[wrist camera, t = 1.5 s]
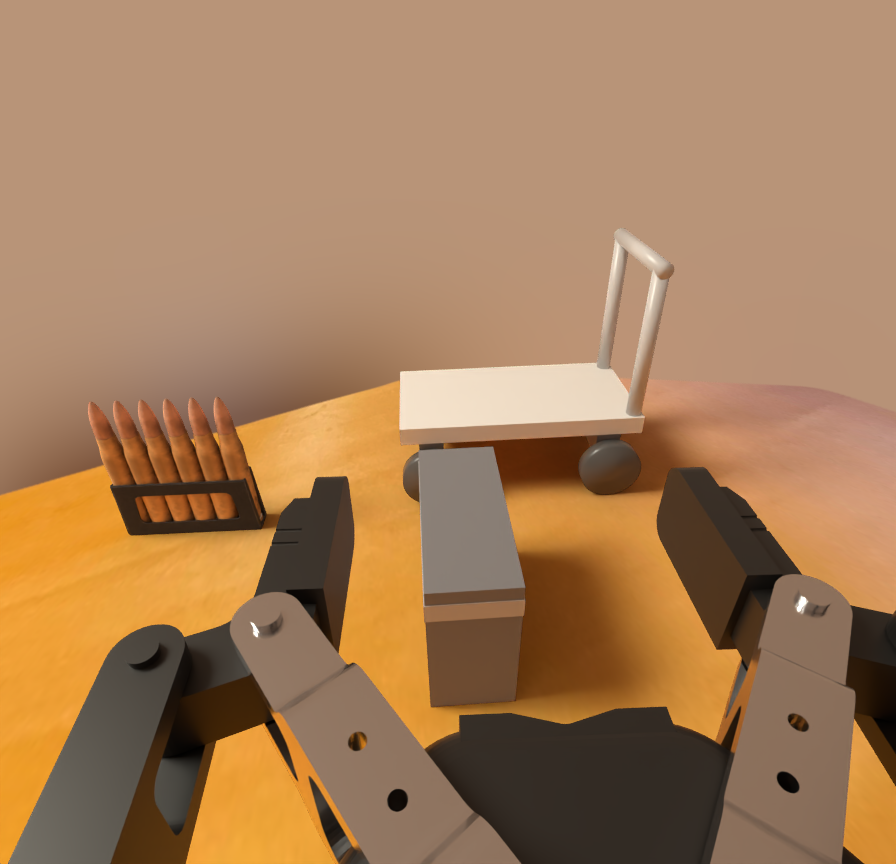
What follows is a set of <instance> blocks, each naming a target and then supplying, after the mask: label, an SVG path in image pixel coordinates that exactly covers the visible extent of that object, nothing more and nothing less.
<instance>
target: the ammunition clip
mask: <svg viewBox="0 0 896 864" xmlns="http://www.w3.org/2000/svg"><path fill="white" fill-rule="evenodd" d="M188 407H189V419H190V424H191V427H192V431H193V436H194V439H195V446H196V449H195V446H194V444H193V443H192V441H191V440H190V438H189V436H188V433H187V431H186V429H185V426H184V424H183V421H182V419H181V417H180V415H179V413H178V411H177V410H176V408H175V407H174V405H173V404H172V403H171V402H170V401H169V400H168V399H165V400H164V403H163V415H164V420H165V425H166V428H167V431H168V436H169V439H170V442H171V446H170V445H169V443H168V441H167V440H166V438H165V436H164V434H163V431H162V430H161V428H160V425H159V422H158V420H157V418H156V417H155V415H154V413H153V411H152V410H151V408H150V407H149V406H148V405H147V403H146V402H144V401H143V400H139V404H138V413H139V420H140V424H141V427H142V430H143V433H144V437H145V440H146V443H147V446H146V444H145V443H144V442H143V440H142V438H141V436H140V434H139V432H138V431H137V428H136V426H135V424H134V422H133V420H132V418H131V416H130V415H129V413H128V412H127V410H126V409H125V408H124V407H123V405H122V404H120V403H119V402H118V401H115V402H114V404H113V412H114V419H115V423H116V427H117V430H118V432H119V435H120V438H121V442H122V444H123V446H122V445H121V443H120V442H119V441H118V439H117V437H116V435H115V433H114V432H113V430H112V427H111V425H110V423H109V421H108V420H107V418H106V416H105V415H104V413H103V412H102V411H101V410H100V409H99V407H98V406H97V405H96V404H94V403H93V402H89V405H88V414H89V419H90V423H91V427H92V430H93V432H94V435H95V437H96V441H97V443H98V446H99V450H100V455H101V458H102V461H103V463H104V465H105V468H106V470H107V472H108V474H109V476H110V479H111V481H112V483H113V484H112V485H111V486H110V488H111V491H112V493H113V495H114V498H115V500H116V503H117V505H118V508H119V510H120V513H121V515H122V518H123V521H124V523H125V526H126V528H127V531H128V533H129V534H130V535H150V534H171V533H193V532H214V531H235V530H257V529H261V528H262V526H263V523H264V520H265V517H266V511H265V508H264V505H263V502H262V499H261V496H260V493H259V490H258V487H257V484H256V481H255V478H254V475H253V472H252V469H251V467H250V466H248V463H247V459H246V455H245V452H244V448H243V445H242V443H241V441H240V439H239V438H238V435H237V432H236V429H235V427H234V424H233V421H232V418H231V416H230V413H229V411H228V409H227V408H226V406H225V405H224V403H223V401H222V400H221V399H220V398H219V397H216V398H215V401H214V418H215V423H216V427H217V431H218V437H219V441H220V448H219V446H218V444H217V442H216V440H215V439H214V437H213V434H212V431H211V429H210V427H209V424H208V421H207V418H206V416H205V414H204V412H203V410H202V408H201V407H200V406H199V404H198V403H197V401H196V400H195V399H194V398H190V400H189V406H188ZM220 451H221V452H220ZM113 485H114V486H113Z"/></svg>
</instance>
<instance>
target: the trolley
mask: <svg viewBox="0 0 896 864" xmlns="http://www.w3.org/2000/svg"><path fill="white" fill-rule="evenodd" d="M614 240H615V245H614V252H613V259H612V266H611V272H610V279H609V286H608V292H607V299H606V306H605V313H604V319H603V327H602V333H601V339H600V347H599V354H598V360H597V363H581V364H559V365H538V366H516V367H493V368H471V369H450V370H427V371H405V372H400V441H401V445H414V444H419V447H420V450H437V449H444V448H443V443H453V442H472V441H492V440H511V439H530V438H550V437H569V436H585V437H586V439H587V441H588V443H589V445H590V447H589V448H588V449H587V450H586V451H585V452H584V453H583V455H582V456H581V458H580V460H579V464H578V471H579V474H580V476H581V479H582V481H583V483H584V485H585V487H586V488H587V489H588V490H590V491H592V492H594V493H597V494H603V495H608V494H614V493H617V492H620V491H622V490H624V489H626V488H628V487H629V486H630V485H631V484H632V483H634V481H635V480H636V479H637V477H638V476H639V473H640V470H641V462H640V459H639V457H638V456H637V454H636V452H635V451H634V449H633V447H632V446H631V445H630V444H628V443H627V442H625V441H622V440H620V436H621V434H628V433H642V429H643V425H644V420H645V417H644V415H643V414H642V412H641V411H642V406H643V401H644V396H645V392H646V387H647V382H648V377H649V372H650V368H651V363H652V358H653V353H654V349H655V344H656V339H657V334H658V329H659V324H660V320H661V315H662V310H663V305H664V301H665V296H666V291H667V286H668V282H669V278H670V277H671V275H672V274H673V272H674V266H673V265H672V264H671V263H670V262H668V261H667V260H666V259H664V258H663V257H661V255H659V254H658V253H656V252H655V251H654V250H652V249H651V248H650V247H649V246H647V245H646V244H645V243H643V242H642V241H641V240H639V239H638V238H637V237H635V236H634V235H632V234H631V233H630V232H629V231H628V230H626V229H625V228H619V229H618V230H616V232H615V233H614ZM628 252H629V253H630V254H631V255H632V256H634V257H635V258H636V259H637V260H638V261H639V262H641V263H642V264H643V265H644V266H646V268H648V269H649V270H650V271H651V272H652V277H651V282H650V288H649V293H648V298H647V303H646V308H645V314H644V319H643V324H642V329H641V335H640V340H639V345H638V350H637V356H636V361H635V366H634V371H633V377H632V382H631V387H630V392H629V393H628V392H627V390H626V389H625V387H624V386H623V384H622V383H621V381H620V380H619V378H618V377H617V375H616V374H615V372H614V371H613V369H612V368H611V366H610V360H611V355H612V349H613V343H614V337H615V331H616V324H617V318H618V312H619V306H620V300H621V294H622V288H623V282H624V275H625V269H626V263H627V257H628ZM418 461H419V452H417V453H415V454H414V455H412V456H411V457H410V458H409V459H408V460H407V462H406V463H405V466H404V469H403V486H404V489H405V491H406V492H407V494H408V495H409V496H410V497H411V498H413V499H414V500H416V501H418V502H420V492H419V463H418Z"/></svg>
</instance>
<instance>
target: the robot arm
mask: <svg viewBox="0 0 896 864" xmlns="http://www.w3.org/2000/svg"><path fill="white" fill-rule="evenodd" d="M657 530H658V535H659V538H660V540H661V542H662V544H663V546H664V548H665V550H666V552H667V554H668V556H669V558H670V560H671V562H672V564H673V566H674V568H675V569H676V571H677V573H678V575H679V577H680V579H681V581H682V583H683V585H684V587H685V589H686V591H687V593H688V595H689V597H690V599H691V601H692V603H693V604H694V606H695V608H696V610H697V612H698V614H699V616H700V618H701V620H702V622H703V624H704V626H705V628H706V630H707V632H708V634H709V636H710V638H711V639H712V641H713V643H714V645H715V647H716V649H717V650H721V649H737V650H738V652H739V653H740V655H741V657H742V658H741V660H740V662H739V664H738V667H737V670H736V674H735V677H734V680H733V684H732V687H731V691H730V694H729V698H728V701H727V705H726V708H725V712H724V715H723V718H722V722H721V725H720V729H719V732H718V735H717V738H716V740H715V741H714V740H712V739H710V738H708V737H706V736H705V735H702V734H700V733H698V732H696V731H693V730H691V729H688V728H685V727H682V726H679V725H675V724H673V722H672V720H671V717H670V715H669V712H668V709H667V707H647V708H623V709H614V710H611V711H608V712H605V713H602V714H599V715H595V716H592V717H589V718H586V719H583V720H580V721H577V722H574V723H571V724H560V723H555V722H550V721H545V720H541V719H536V718H531V717H527V716H522V715H517V714H512V713H502V714H478V715H459V732H457V733H454V734H451V735H448V736H446V737H444V738H442V739H440V740H438V741H436V742H434V743H433V744H431V745H430V746H428V747H427V748H425V749H423V747H422V746H421V745H420V744H419V742H418V741H417V740H416V738H415V737H414V736H413V734H412V733H411V732H410V731H409V729H408V728H407V727H406V725H405V724H404V723H403V721H402V720H401V719H400V718H399V716H398V715H397V714H396V712H395V711H394V710H393V709H392V707H391V706H390V705H389V703H388V702H387V701H386V699H385V698H384V697H383V696H382V694H381V693H380V692H379V690H378V689H377V688H376V686H375V685H374V684H373V683H372V681H371V680H370V679H369V677H368V676H367V675H366V673H365V672H364V671H363V670H362V669H361V668H360V667H359V666H358V665H357V664H355V663H351V664H349V665H348V664H346V663H345V662H344V661H343V659H342V658H341V657H340V655H339V654H338V653H339V646H340V639H341V632H342V625H343V618H344V612H345V605H346V598H347V591H348V584H349V577H350V570H351V564H352V557H353V550H354V521H353V513H352V505H351V498H350V490H349V483H348V478H347V477H346V476H343V477H317V478H316V479H315V482H314V486H313V489H312V493H311V497H310V498H295V499H294V500H293V501H292V502H291V503H290V504H289V505H288V506H287V507H286V508H285V510H284V511H283V512H282V513H281V516H280V519H279V522H278V525H277V528H276V532H275V534H274V537H273V540H272V546H270V549H269V553H268V556H267V559H266V562H265V565H264V568H263V571H262V574H261V577H260V580H259V583H258V587H257V590H256V593H255V595H254V598H252V599H250V600H249V601H247V602H246V603H245V604H243V605H242V606H241V607H240V608H239V609H238V610H237V612H236V613H235V614H234V616H233V618H232V620H231V621H230V622H228V623H226V624H224V625H222V626H219V627H216V628H213V629H210V630H207V631H203V632H200V633H197V634H194V635H190V636H187V637H184V636H183V635H182V633H181V632H180V631H179V630H178V629H177V628H175V627H173V626H170V625H151V626H147V627H144V628H141V629H139V630H136V631H134V632H132V633H131V634H129V635H127V636H126V637H124V638H123V639H122V640H121V641H119V642H118V643H117V644H116V645H115V646H114V647H113V648H112V650H111V651H110V652H109V653H108V655H107V657H106V659H105V661H104V663H103V665H102V667H101V669H100V671H99V673H98V675H97V677H96V680H95V682H94V684H93V686H92V688H91V690H90V692H89V694H88V696H87V698H86V701H85V703H84V705H83V707H82V709H81V711H80V713H79V715H78V717H77V719H76V722H75V724H74V726H73V728H72V730H71V732H70V734H69V736H68V738H67V740H66V743H65V745H64V747H63V749H62V751H61V753H60V755H59V757H58V759H57V762H56V764H55V766H54V768H53V770H52V772H51V774H50V776H49V778H48V780H47V783H46V785H45V787H44V789H43V791H42V793H41V795H40V797H39V799H38V801H37V804H36V806H35V808H34V810H33V812H32V814H31V816H30V818H29V820H28V822H27V825H26V827H25V829H24V831H23V833H22V835H21V837H20V839H19V841H18V843H17V846H16V848H15V850H14V852H13V854H12V856H11V858H10V860H9V862H8V864H186V860H187V856H188V852H189V848H190V844H191V840H192V836H193V832H194V828H195V824H196V820H197V816H198V812H199V808H200V804H201V800H202V796H203V792H204V788H205V784H206V780H207V776H208V772H209V768H210V764H211V760H212V756H213V752H214V748H215V744H216V741H217V740H220V739H222V738H225V737H228V736H231V735H233V734H236V733H239V732H242V731H244V730H247V729H250V728H252V727H255V726H258V725H261V724H262V725H263V727H264V729H265V731H266V732H267V734H268V736H269V738H270V740H271V742H272V743H273V745H274V747H275V749H276V751H277V752H278V754H279V756H280V758H281V760H282V762H283V763H284V765H285V767H286V769H287V771H288V773H289V774H290V776H291V778H292V780H293V782H294V783H295V785H296V787H297V789H298V791H299V793H300V795H301V797H302V799H303V801H304V803H305V806H306V808H307V810H308V813H309V815H310V817H311V819H312V821H313V823H314V825H315V827H316V829H317V831H318V833H319V835H320V837H321V839H322V841H323V843H324V845H325V846H326V848H327V850H328V852H329V854H330V856H331V857H332V859H333V861H334V863H335V864H864V863H863V862H861V861H860V860H859V859H858V858H857V857H855V856H854V855H853V854H852V853H851V852H849V851H848V850H847V849H846V848H845V847H844V846H843V838H844V827H845V815H846V804H847V792H848V780H849V769H850V757H851V746H852V734H853V722H854V719H855V720H856V722H857V724H858V725H859V727H860V729H861V730H862V732H863V733H864V735H865V737H866V738H867V740H868V742H869V743H870V745H871V747H872V748H873V750H874V751H875V753H876V755H877V756H878V758H879V760H880V761H881V763H882V765H883V766H884V768H885V769H886V771H887V773H888V774H889V776H890V778H891V779H892V781H893V783H894V784H895V786H896V611H895V612H894V614H888V613H884V612H879V611H874V610H869V609H865V608H860V607H855V606H851V605H849V603H848V601H847V600H846V599H845V597H844V596H843V595H842V594H841V593H840V592H838V591H837V590H836V589H835V588H833V587H832V586H830V585H828V584H827V583H825V582H823V581H821V580H818V579H816V578H813V577H810V576H805V575H802V574H801V572H800V571H799V570H798V568H797V567H796V566H795V564H794V563H793V562H792V561H791V559H790V558H789V557H788V555H787V554H786V553H785V551H784V550H783V549H782V547H781V546H780V545H779V544H778V542H777V541H776V540H775V538H774V537H773V536H772V534H771V533H770V532H769V531H767V530H766V527H765V525H764V524H763V523H762V521H761V520H760V519H759V518H757V515H756V513H755V512H754V511H753V509H752V508H751V507H750V506H749V504H748V503H747V502H746V500H745V499H743V498H742V497H740V496H739V495H738V494H736V493H735V492H733V491H732V490H731V489H729V488H728V487H719V485H718V484H717V483H716V481H715V480H714V478H713V477H712V476H711V474H710V473H709V472H708V470H707V469H705V468H704V467H691V468H672V469H671V470H670V471H669V473H668V476H667V480H666V483H665V487H664V491H663V495H662V499H661V503H660V506H659V510H658V514H657Z"/></svg>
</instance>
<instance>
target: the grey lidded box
mask: <svg viewBox="0 0 896 864" xmlns="http://www.w3.org/2000/svg"><path fill="white" fill-rule="evenodd" d="M418 463H419V492H420V520H421V549H422V577H423V606H424V622H426V638H427V654H428V670H429V686H430V703H431V707H439V706H452V705H466V704H480V703H494V702H507V701H515V698H516V687H517V676H518V665H519V654H520V643H521V632H522V621H523V616H524V612H525V601H526V600H525V588H526V587H525V583H524V579H523V574H522V570H521V566H520V561H519V557H518V553H517V548H516V544H515V540H514V535H513V531H512V527H511V522H510V518H509V514H508V509H507V505H506V501H505V496H504V492H503V488H502V483H501V479H500V475H499V470H498V466H497V462H496V457H495V453H494V449H493V447H475V448H456V449H437V450H419V461H418Z"/></svg>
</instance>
